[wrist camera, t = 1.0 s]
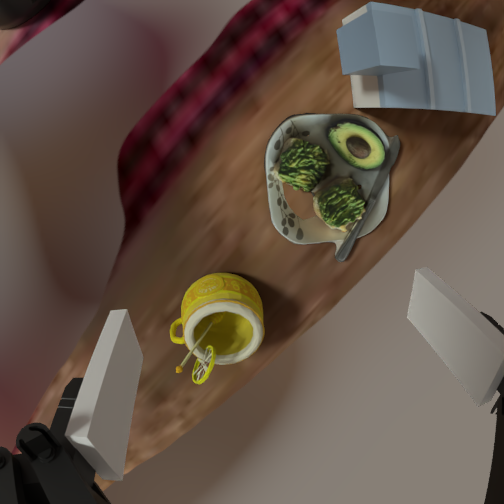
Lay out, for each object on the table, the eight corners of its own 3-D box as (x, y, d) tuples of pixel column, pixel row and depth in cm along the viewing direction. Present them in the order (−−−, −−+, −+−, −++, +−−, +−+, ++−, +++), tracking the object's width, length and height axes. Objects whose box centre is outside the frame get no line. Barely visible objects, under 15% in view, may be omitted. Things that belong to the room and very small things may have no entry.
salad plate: (386, 251, 45) (401, 264, 41) (267, 263, 43) (273, 280, 39) (393, 116, 37) (412, 118, 33) (260, 114, 36) (266, 113, 31)
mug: (246, 255, 42) (259, 305, 31) (268, 320, 47) (284, 378, 36) (156, 284, 42) (141, 339, 31) (187, 344, 47) (183, 404, 36)
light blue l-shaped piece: (328, 3, 25) (363, -26, 17) (476, 31, 27) (522, 25, 18) (343, 107, 30) (384, 107, 22) (485, 114, 31) (533, 121, 23)
